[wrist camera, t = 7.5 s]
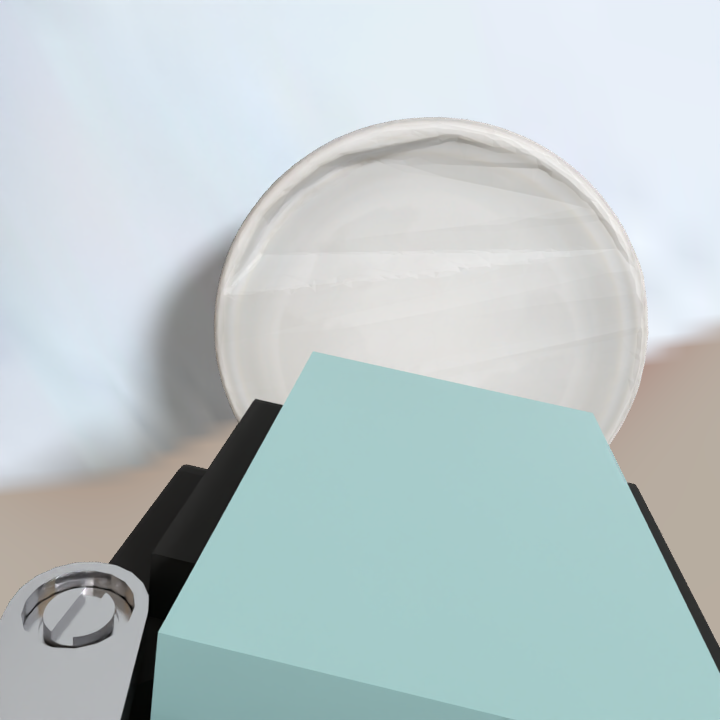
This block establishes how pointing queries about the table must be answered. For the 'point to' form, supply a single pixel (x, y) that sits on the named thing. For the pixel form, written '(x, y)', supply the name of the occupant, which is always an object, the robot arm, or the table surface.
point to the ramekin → (436, 271)
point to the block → (430, 569)
